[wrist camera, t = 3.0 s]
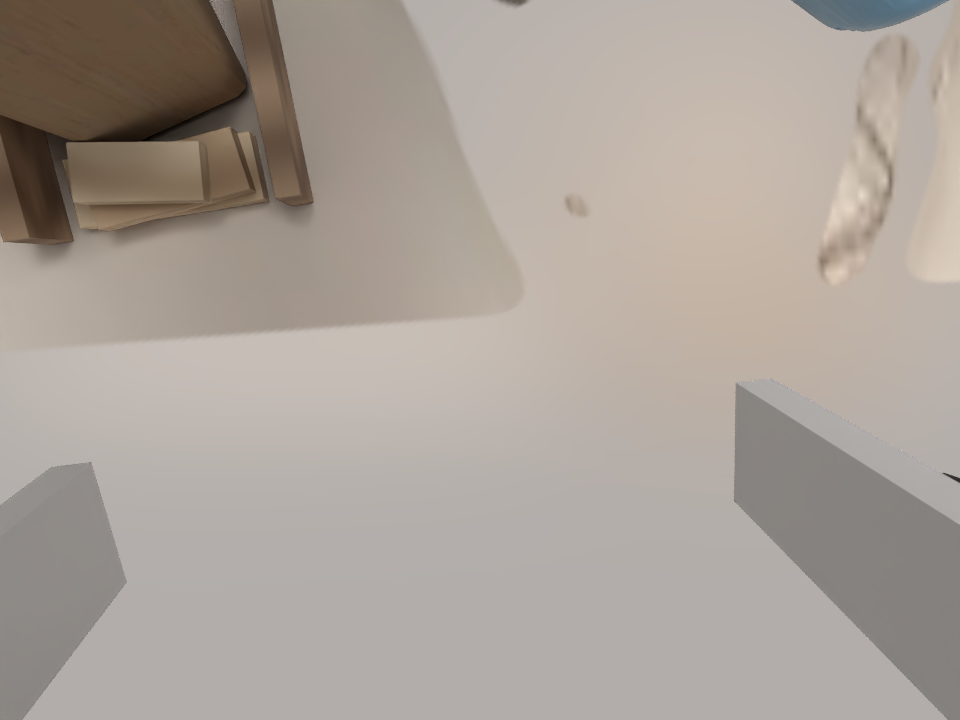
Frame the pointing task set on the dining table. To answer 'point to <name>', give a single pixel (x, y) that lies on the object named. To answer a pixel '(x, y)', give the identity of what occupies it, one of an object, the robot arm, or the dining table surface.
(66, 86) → the wooden block
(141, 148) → the brown wooden tray
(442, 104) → the dining table surface
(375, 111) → the dining table surface
